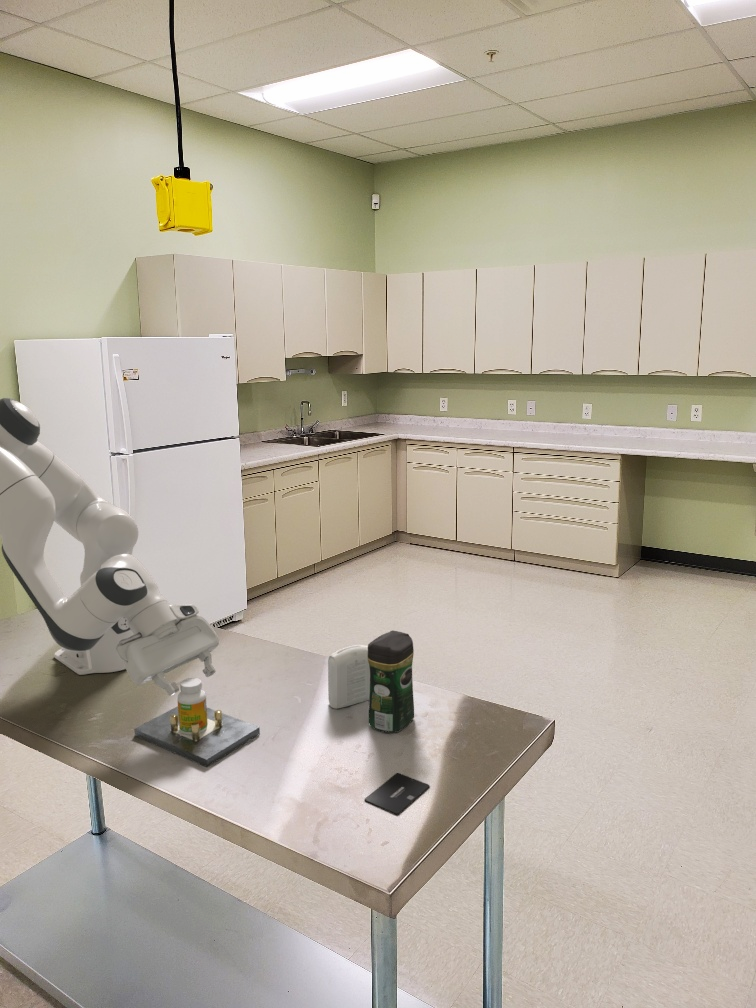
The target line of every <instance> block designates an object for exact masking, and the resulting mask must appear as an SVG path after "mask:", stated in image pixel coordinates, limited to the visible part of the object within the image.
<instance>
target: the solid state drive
mask: <svg viewBox="0 0 756 1008" xmlns="http://www.w3.org/2000/svg"><path fill="white" fill-rule="evenodd" d="M429 789H430V784H429V783H426V782H423V781H420V780H419V779H418V780H417V779H415V778H413V777H410V776H408V775H405V774H402V773H400V772H396V773H395V774H394V775H392V776H391V777H390V778H389V779H387V780H386V781H385V782H384V783H382V784H381V785H380V786H379V787H377V788H376V789H374V791H371V793H369V795H367V796H366V797H365V798H364V802H366V803H368V804H370V805H372V806H375V807H377V808H379V809H382V810H384V811H387V812H388V813H390V814H393V815H395V816H398V815H400V814H402V813H403V812H404V811H405V810H406V809H408V808H409V807H410V805H412V804H413V803H414V802H415V801H416V800H418V798H420V797H421V796H422V795H423V794H425V792H427V790H429Z"/></svg>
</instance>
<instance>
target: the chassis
mask: <svg viewBox="0 0 756 1008" xmlns="http://www.w3.org/2000/svg"><path fill="white" fill-rule="evenodd" d="M207 722H208V726H207V729H206V730H205V731H203V732H201V733H200V732H199V723H193V724H192V725H191V726H192V735H187V734H184V733H182V732H181V731H180V729H179V715H178V705H177V706H176V707H174V708H171V709H169V710H168V711H165V712H164V713H162V714H160V715H158V716H155V717H154V718H153V719H150V720H148V721H146V722H145V723H142V724H141V725H138V726H137V727H135V728H133V729H134V737H137V738H140V739H141V740H143V741H146V742H149V743H151V744H153V745H155V746H158V747H160V748H161V749H162V748H163V749H165V750H167V751H169V752H171V753H173V754H176V755H178V756H181V757H183V758H185V759H188V760H190V761H192V762H194V763H197V764H199V765H202V766H204V767H206V768H208V767H210V766H211V765H213V764H214V763H216V762H217V761H219V760H221V759H222V758H224V757H225V756H228V754H230V753H232V752H233V751H236V750H237V749H238V748H240V747H242V746H244V745H245V744H247V743H248V742H249V741H251V740H253V739H254V738H256V737H258V736H259V735H260V733H261V731H260V730H261V729H260V726H258V725H255V724H252V723H249V722H247V721H244V720H242V719H239V718H236V717H234V716H230V715H228V714H225V713H223V712H222V710H221V709H217V710H215V709H212V708H209V707H207Z"/></svg>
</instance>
